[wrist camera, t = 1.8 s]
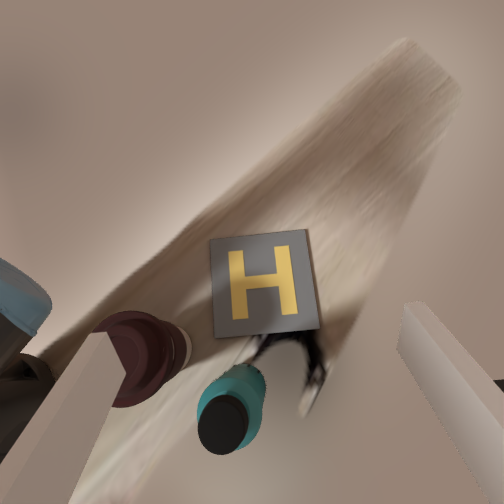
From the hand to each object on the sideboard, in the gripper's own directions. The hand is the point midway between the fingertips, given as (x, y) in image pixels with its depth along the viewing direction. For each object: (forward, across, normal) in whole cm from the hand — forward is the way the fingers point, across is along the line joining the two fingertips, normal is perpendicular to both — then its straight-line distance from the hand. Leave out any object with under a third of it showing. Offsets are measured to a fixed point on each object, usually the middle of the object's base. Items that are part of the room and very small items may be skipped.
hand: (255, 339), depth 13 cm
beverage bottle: (+18, -4, -27) cm, 33 cm away
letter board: (+28, 0, -16) cm, 33 cm away
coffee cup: (+22, -15, -23) cm, 35 cm away
